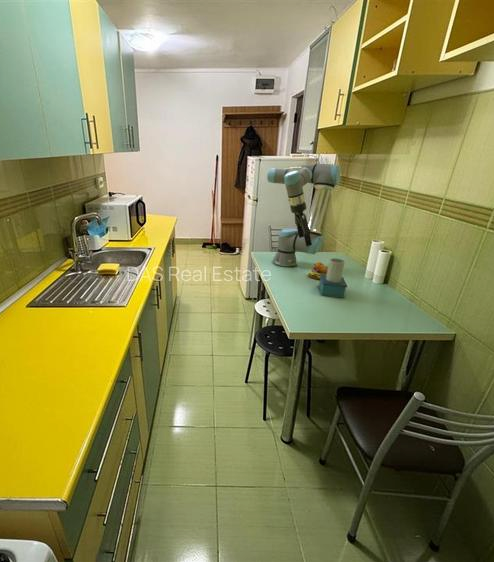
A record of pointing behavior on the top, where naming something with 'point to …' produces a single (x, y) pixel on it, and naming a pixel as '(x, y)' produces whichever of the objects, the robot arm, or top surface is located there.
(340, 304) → the top surface
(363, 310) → the top surface
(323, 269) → the cheeseburger
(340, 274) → the cup
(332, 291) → the container
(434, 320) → the top surface
